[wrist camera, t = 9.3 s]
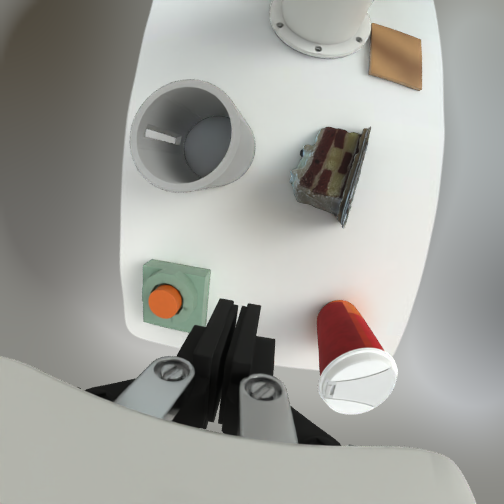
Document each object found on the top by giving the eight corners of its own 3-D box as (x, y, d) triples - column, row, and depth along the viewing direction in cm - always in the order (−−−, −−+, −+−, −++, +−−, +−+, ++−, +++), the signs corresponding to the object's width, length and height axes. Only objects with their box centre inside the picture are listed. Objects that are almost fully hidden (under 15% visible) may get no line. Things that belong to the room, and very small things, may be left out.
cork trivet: (370, 25, 25) (372, 22, 25) (418, 41, 25) (421, 39, 24) (368, 74, 27) (370, 72, 27) (419, 91, 27) (421, 89, 26)
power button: (154, 281, 32) (148, 287, 31) (182, 287, 32) (177, 293, 30) (154, 308, 33) (148, 315, 32) (181, 315, 33) (176, 322, 31)
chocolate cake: (314, 105, 30) (273, 162, 24) (373, 121, 28) (353, 185, 22) (310, 166, 38) (275, 230, 32) (360, 182, 35) (336, 251, 30)
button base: (151, 257, 36) (136, 267, 32) (210, 267, 36) (201, 280, 31) (151, 313, 38) (137, 328, 34) (205, 325, 38) (197, 342, 33)
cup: (265, 172, 32) (256, 170, 20) (191, 196, 34) (147, 208, 22) (241, 100, 30) (220, 63, 18) (170, 126, 32) (119, 108, 20)
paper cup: (304, 342, 37) (312, 418, 24) (312, 290, 35) (327, 356, 22) (360, 344, 36) (387, 415, 23) (371, 293, 34) (412, 354, 21)
